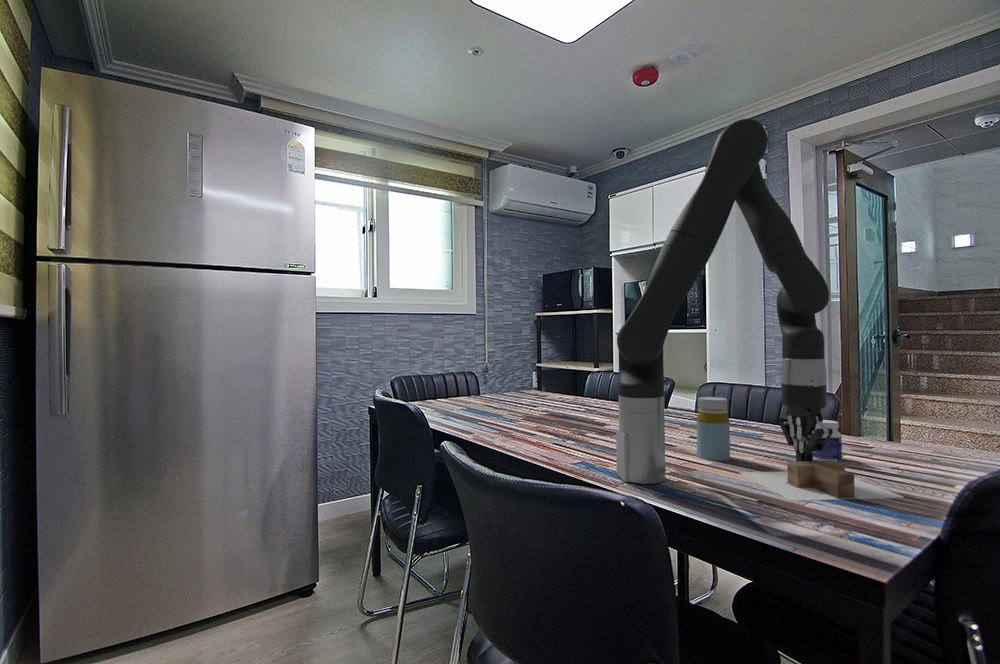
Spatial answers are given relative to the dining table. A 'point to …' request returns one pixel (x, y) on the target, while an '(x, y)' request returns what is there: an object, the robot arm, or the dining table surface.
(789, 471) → the tee block
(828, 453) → the pill bottle
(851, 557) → the dining table surface
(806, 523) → the dining table surface
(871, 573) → the dining table surface
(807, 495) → the mat
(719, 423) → the bottle
